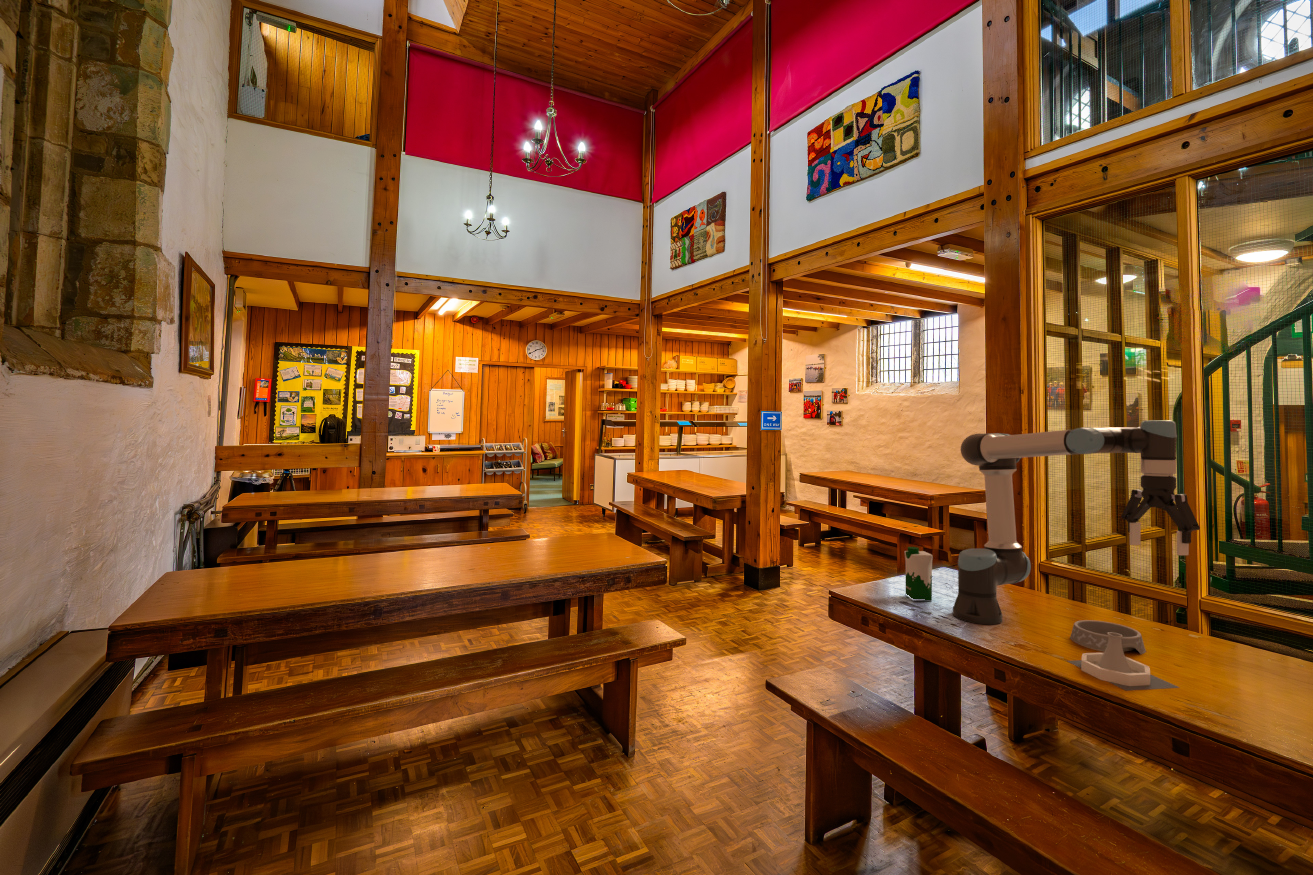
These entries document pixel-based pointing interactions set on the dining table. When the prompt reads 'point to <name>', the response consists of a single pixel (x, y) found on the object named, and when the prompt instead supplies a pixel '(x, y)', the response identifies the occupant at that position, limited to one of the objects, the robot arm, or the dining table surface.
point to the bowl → (1135, 678)
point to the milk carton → (918, 573)
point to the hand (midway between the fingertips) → (1157, 549)
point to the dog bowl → (1105, 635)
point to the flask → (1114, 655)
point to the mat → (1154, 684)
